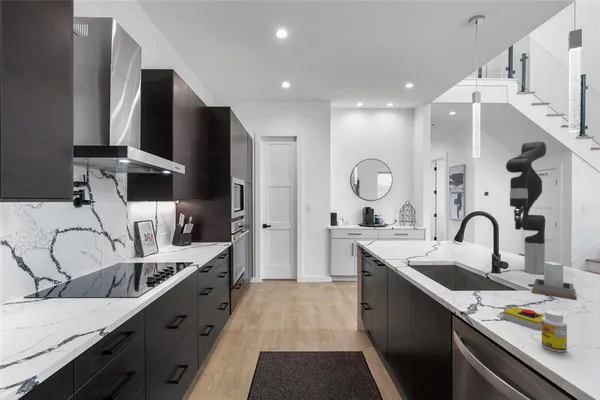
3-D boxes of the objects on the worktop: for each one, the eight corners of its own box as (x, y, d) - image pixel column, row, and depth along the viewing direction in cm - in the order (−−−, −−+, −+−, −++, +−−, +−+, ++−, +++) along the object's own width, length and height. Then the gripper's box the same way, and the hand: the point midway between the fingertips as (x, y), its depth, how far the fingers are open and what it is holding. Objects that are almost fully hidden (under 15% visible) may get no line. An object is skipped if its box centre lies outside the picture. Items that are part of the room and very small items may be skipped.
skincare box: (563, 291, 136) (563, 264, 136) (554, 291, 136) (554, 264, 136) (552, 287, 142) (552, 261, 142) (543, 287, 142) (543, 261, 142)
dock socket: (533, 285, 149) (533, 278, 149) (575, 291, 139) (575, 283, 139) (531, 292, 138) (531, 284, 138) (576, 299, 128) (576, 291, 128)
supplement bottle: (537, 342, 90) (537, 308, 90) (559, 344, 89) (559, 310, 89) (547, 351, 85) (547, 315, 85) (571, 354, 84) (571, 317, 84)
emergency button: (543, 320, 97) (495, 305, 111) (543, 333, 97) (495, 317, 111) (558, 314, 102) (510, 301, 115) (558, 327, 102) (510, 313, 115)
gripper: (511, 197, 164) (511, 227, 165) (508, 197, 153) (508, 229, 154) (528, 197, 160) (528, 227, 160) (526, 197, 149) (526, 230, 149)
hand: (518, 228), depth 157 cm, fingers open, 8 cm apart
